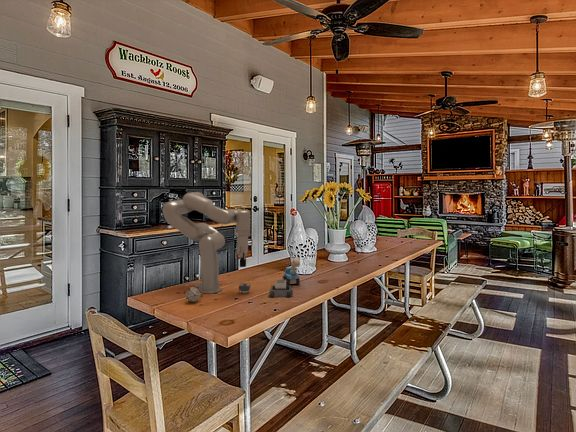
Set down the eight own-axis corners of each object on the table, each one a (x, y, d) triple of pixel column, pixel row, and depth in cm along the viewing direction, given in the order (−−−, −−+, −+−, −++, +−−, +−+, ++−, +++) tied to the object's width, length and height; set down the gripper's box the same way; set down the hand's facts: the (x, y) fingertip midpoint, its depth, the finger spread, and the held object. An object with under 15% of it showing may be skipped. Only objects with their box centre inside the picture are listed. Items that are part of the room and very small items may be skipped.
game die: (191, 308, 193) (187, 290, 198) (206, 302, 193) (202, 284, 197) (183, 304, 185) (179, 286, 190) (199, 299, 185) (195, 280, 189)
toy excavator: (289, 289, 213) (289, 259, 212) (281, 281, 229) (281, 254, 228) (303, 288, 216) (303, 258, 214) (295, 280, 232) (295, 253, 230)
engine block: (274, 293, 202) (274, 282, 202) (275, 291, 207) (275, 279, 207) (286, 293, 202) (286, 282, 201) (286, 291, 207) (286, 279, 206)
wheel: (238, 290, 204) (238, 286, 204) (240, 287, 210) (240, 283, 210) (249, 290, 204) (249, 286, 204) (250, 287, 210) (250, 283, 209)
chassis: (268, 297, 198) (267, 291, 198) (269, 290, 211) (269, 284, 211) (292, 297, 198) (292, 291, 198) (292, 290, 211) (292, 284, 211)
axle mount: (239, 293, 205) (239, 286, 204) (241, 291, 210) (241, 284, 209) (248, 293, 205) (248, 286, 204) (249, 291, 210) (249, 284, 209)
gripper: (238, 231, 210) (238, 263, 212) (233, 235, 195) (233, 269, 197) (251, 231, 210) (251, 263, 211) (248, 235, 195) (247, 270, 197)
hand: (242, 266), depth 204 cm, fingers closed
